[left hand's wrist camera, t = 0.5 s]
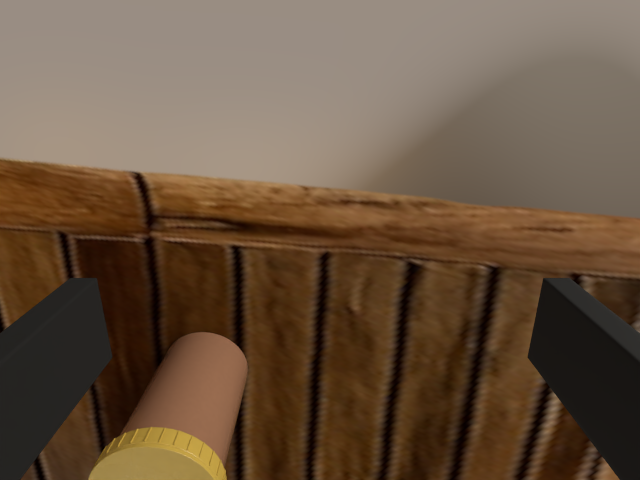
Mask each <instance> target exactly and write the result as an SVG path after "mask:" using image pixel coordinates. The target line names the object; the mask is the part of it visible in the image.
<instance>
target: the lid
mask: <svg viewBox="0 0 640 480" xmlns="http://www.w3.org/2000/svg"><path fill="white" fill-rule="evenodd" d="M88 480H226V470H225V469H224V466H223V464H222V462H221V460H220V458H219V457H218V456H217V454H216V453H215V451H213V450H212V449H211V448H210V447H209V446H208V445H206V444H205V443H204V442H202V441H201V440H199V439H198V438H196V437H194V436H192V435H190V434H187V433H185V432H182V431H179V430H175V429H170V428H162V427H147V428H140V429H136V430H132V431H129V432H127V433H126V432H125V433H124V434H122V435H121V436H119V437H117V438H116V439H115V438H114V439H113V441H112V442H111V443H110V444H109V445H108V446H106V447H105V448H104V450H103V452H102V453H101V455H100V456H99V458H98V460H97V461H96V463H95V465H94V466H93V468H92V472H91V474H90V476H89V479H88Z"/></svg>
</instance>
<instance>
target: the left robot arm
mask: <svg viewBox="0 0 640 480" xmlns="http://www.w3.org/2000/svg"><path fill="white" fill-rule="evenodd" d="M111 358H112V353H111V348H110V343H109V338H108V333H107V328H106V323H105V318H104V313H103V308H102V303H101V298H100V293H99V288H98V283H97V278H70V279H69V280H68V281H66V282H65V283H64V284H62V285H61V286H60V287H59V288H57V289H56V290H55V291H54V292H52V293H51V294H50V295H48V296H47V297H46V298H45V299H43V300H42V301H41V302H40V303H38V304H37V305H36V306H34V307H33V308H32V309H31V310H29V311H28V312H27V313H26V314H24V315H23V316H22V317H20V318H19V319H18V320H17V321H15V322H14V323H13V324H12V325H10V326H9V327H8V328H6V329H5V330H4V331H3V332H1V333H0V480H20V479H21V478H22V476H23V475H24V474H25V472H26V471H27V470H28V468H29V467H30V466H31V464H32V463H33V462H34V460H35V459H36V458H37V457H38V455H39V454H40V453H41V451H42V450H43V449H44V447H45V446H46V445H47V443H48V442H49V441H50V439H51V438H52V437H53V435H54V434H55V433H56V431H57V430H58V429H59V427H60V426H61V425H62V423H63V422H64V421H65V419H66V418H67V417H68V415H69V414H70V413H71V411H72V410H73V409H74V407H75V406H76V405H77V404H78V402H79V401H80V400H81V398H82V397H83V396H84V394H85V393H86V392H87V390H88V389H89V388H90V386H91V385H92V384H93V382H94V381H95V380H96V378H97V377H98V376H99V374H100V373H101V372H102V370H103V369H104V368H105V366H106V365H107V364H108V362H109V361H110V360H111ZM528 358H529V360H530V361H531V362H532V364H533V365H534V366H535V368H536V369H537V370H538V372H539V373H540V374H541V376H542V377H543V378H544V380H545V381H546V382H547V384H548V385H549V386H550V388H551V389H552V390H553V392H554V393H555V394H556V396H557V397H558V398H559V400H560V401H561V402H562V404H563V405H564V406H565V407H566V409H567V410H568V411H569V413H570V414H571V415H572V417H573V418H574V419H575V421H576V422H577V423H578V425H579V426H580V427H581V429H582V430H583V431H584V433H585V434H586V435H587V437H588V438H589V439H590V441H591V442H592V443H593V445H594V446H595V447H596V449H597V450H598V451H599V453H600V454H601V455H602V457H603V458H604V459H605V460H606V462H607V463H608V464H609V466H610V467H611V468H612V470H613V471H614V472H615V474H616V475H617V476H618V478H619V479H620V480H640V333H639V332H637V331H636V330H635V329H634V328H632V327H631V326H630V325H628V324H627V323H626V322H625V321H623V320H622V319H621V318H620V317H618V316H617V315H616V314H614V313H613V312H612V311H611V310H609V309H608V308H607V307H606V306H604V305H603V304H602V303H600V302H599V301H598V300H597V299H595V298H594V297H593V296H592V295H590V294H589V293H588V292H586V291H585V290H584V289H583V288H581V287H580V286H579V285H578V284H576V283H575V282H574V281H572V280H571V279H570V278H543V283H542V288H541V293H540V298H539V303H538V308H537V313H536V318H535V323H534V328H533V333H532V338H531V343H530V348H529V353H528Z"/></svg>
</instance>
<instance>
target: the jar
mask: <svg viewBox="0 0 640 480" xmlns="http://www.w3.org/2000/svg"><path fill="white" fill-rule="evenodd" d="M247 375H248V365H247V361H246V358H245V356H244V354H243V353H242V351H241V350H240V349H239V347H238V346H237V345H236V344H234V343H233V342H232V341H230V340H229V339H227V338H225V337H223V336H221V335H218V334H214V333H209V332H197V333H191V334H188V335H185V336H183V337H181V338H179V339H178V340H176V341H175V342H174V343H173V344H172V345H171V346H170V348H169V349H168V351H167V353H166V354H165V356H164V358H163V360H162V361H161V363H160V365H159V367H158V369H157V370H156V372H155V374H154V376H153V377H152V379H151V381H150V383H149V384H148V386H147V388H146V390H145V391H144V393H143V395H142V397H141V399H140V400H139V402H138V404H137V406H136V407H135V409H134V411H133V413H132V414H131V416H130V418H129V420H128V421H127V423H126V425H125V427H124V428H123V430H122V432H121V434H120V436H121V435H122V434H124V433H125V432H126V433H127V432H129V431H132V430H136V429H140V428H147V427H162V428H170V429H175V430H179V431H182V432H185V433H187V434H190V435H192V436H194V437H196V438H198V439H199V440H201V441H202V442H204V443H205V444H206V445H208V446H209V447H210V448H211V449H212V450H213V451H215V453H216V454H217V456H218V457H219V458H220V460H221V462H222V464H223V466H224V468H225V464H226V460H227V456H228V452H229V448H230V444H231V440H232V436H233V432H234V428H235V424H236V420H237V416H238V412H239V408H240V404H241V400H242V396H243V392H244V388H245V384H246V379H247Z"/></svg>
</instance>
